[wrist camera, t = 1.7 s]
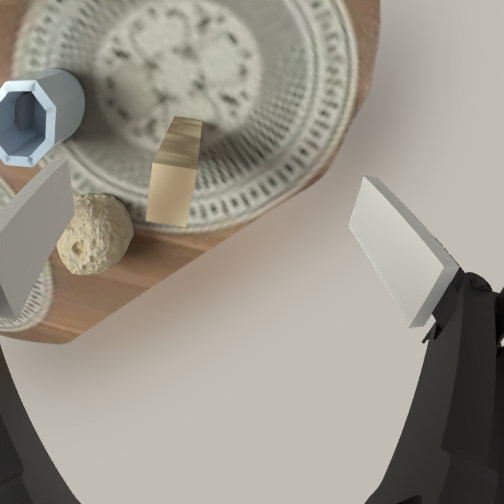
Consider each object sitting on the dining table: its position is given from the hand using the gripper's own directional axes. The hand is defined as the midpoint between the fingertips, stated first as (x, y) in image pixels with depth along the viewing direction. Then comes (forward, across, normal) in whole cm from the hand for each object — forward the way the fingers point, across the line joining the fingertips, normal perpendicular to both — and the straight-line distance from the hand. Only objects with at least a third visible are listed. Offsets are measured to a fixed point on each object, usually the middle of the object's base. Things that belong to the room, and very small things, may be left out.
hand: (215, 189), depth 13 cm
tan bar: (+22, -3, -4) cm, 22 cm away
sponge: (+22, -13, -15) cm, 30 cm away
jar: (+22, -18, 0) cm, 28 cm away
